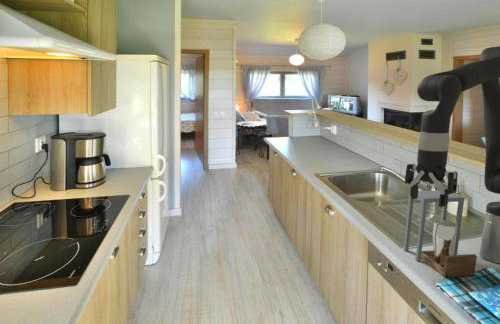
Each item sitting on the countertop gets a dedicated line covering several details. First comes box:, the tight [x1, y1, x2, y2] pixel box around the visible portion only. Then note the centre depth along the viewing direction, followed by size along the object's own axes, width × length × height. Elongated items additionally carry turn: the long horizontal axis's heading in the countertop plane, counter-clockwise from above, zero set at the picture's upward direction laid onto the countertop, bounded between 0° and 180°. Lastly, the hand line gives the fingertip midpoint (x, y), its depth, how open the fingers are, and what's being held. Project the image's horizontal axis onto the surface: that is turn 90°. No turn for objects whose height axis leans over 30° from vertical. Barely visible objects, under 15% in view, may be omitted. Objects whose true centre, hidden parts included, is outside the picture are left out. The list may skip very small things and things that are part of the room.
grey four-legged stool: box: [403, 189, 466, 262], centre depth 123 cm, size 9×15×24 cm, turn 96°
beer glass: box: [430, 219, 456, 264], centre depth 117 cm, size 7×7×15 cm
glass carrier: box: [421, 250, 478, 278], centre depth 116 cm, size 15×10×7 cm
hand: (427, 202), depth 98 cm, fingers open, 8 cm apart
